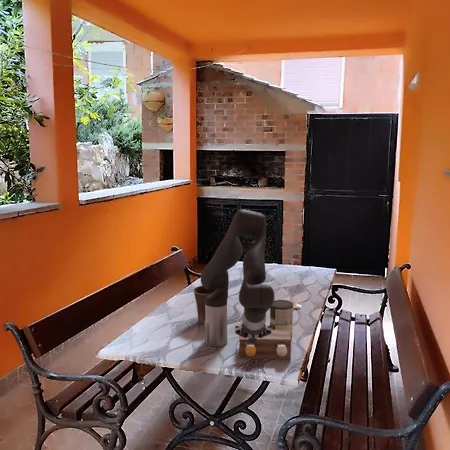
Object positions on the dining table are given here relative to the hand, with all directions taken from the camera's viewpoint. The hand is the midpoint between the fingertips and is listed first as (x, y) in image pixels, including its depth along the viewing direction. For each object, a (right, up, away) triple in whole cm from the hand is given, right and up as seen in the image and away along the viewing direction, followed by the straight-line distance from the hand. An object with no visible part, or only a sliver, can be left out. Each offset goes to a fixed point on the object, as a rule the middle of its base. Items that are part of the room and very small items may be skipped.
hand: (252, 339), depth 172 cm
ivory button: (+12, -9, +16) cm, 22 cm away
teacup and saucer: (+24, -3, +78) cm, 82 cm away
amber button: (0, -9, +16) cm, 19 cm away
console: (+6, -11, +23) cm, 26 cm away
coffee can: (+15, -8, +43) cm, 47 cm away
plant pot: (-17, -6, +58) cm, 61 cm away
